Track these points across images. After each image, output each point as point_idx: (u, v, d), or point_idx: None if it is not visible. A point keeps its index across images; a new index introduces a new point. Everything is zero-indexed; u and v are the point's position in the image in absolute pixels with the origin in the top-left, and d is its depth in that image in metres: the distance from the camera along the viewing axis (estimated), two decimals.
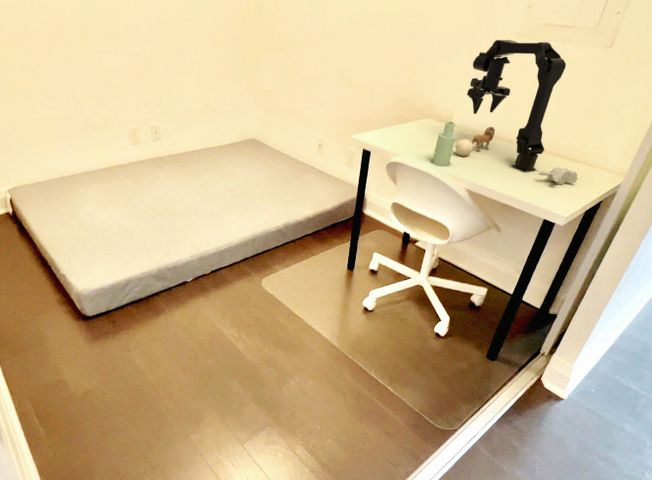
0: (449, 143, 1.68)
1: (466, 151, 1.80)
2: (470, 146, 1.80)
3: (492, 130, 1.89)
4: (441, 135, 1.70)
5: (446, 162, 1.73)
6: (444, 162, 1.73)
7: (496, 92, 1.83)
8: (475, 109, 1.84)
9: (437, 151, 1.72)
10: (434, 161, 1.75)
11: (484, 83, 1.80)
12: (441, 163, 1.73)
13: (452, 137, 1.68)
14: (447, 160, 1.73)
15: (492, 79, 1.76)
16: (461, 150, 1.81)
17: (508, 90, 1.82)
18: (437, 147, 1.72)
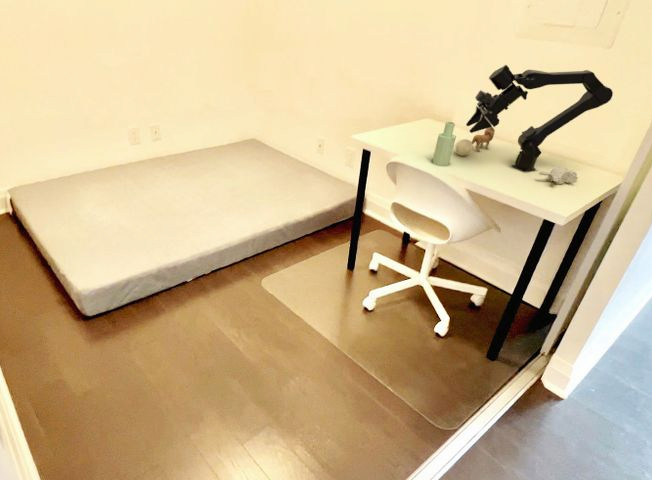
0: (449, 143, 1.68)
1: (466, 151, 1.80)
2: (470, 146, 1.80)
3: (492, 130, 1.89)
4: (441, 135, 1.70)
5: (446, 162, 1.73)
6: (444, 162, 1.73)
7: None
8: (474, 129, 1.65)
9: (437, 151, 1.72)
10: (434, 161, 1.75)
11: (495, 105, 1.61)
12: (441, 163, 1.73)
13: (452, 137, 1.68)
14: (447, 160, 1.73)
15: (505, 108, 1.61)
16: (461, 150, 1.81)
17: None
18: (437, 147, 1.72)
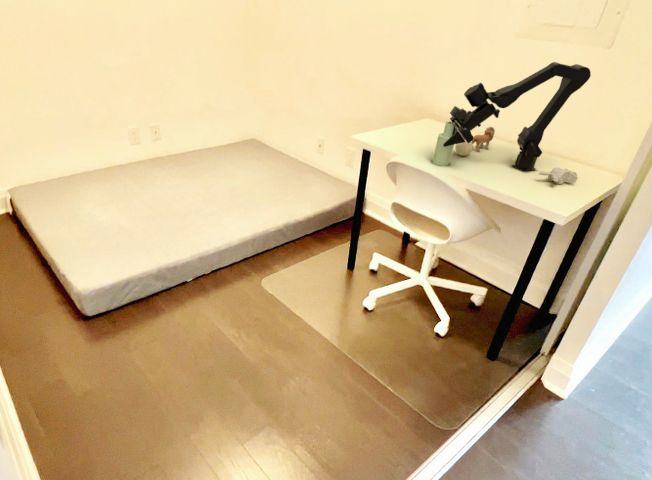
0: None
1: (466, 151, 1.80)
2: (470, 146, 1.80)
3: (492, 130, 1.89)
4: (441, 135, 1.70)
5: (446, 162, 1.73)
6: (444, 162, 1.73)
7: None
8: (448, 143, 1.68)
9: (437, 151, 1.72)
10: (434, 161, 1.75)
11: (469, 122, 1.64)
12: (441, 163, 1.73)
13: None
14: (447, 160, 1.73)
15: (478, 124, 1.64)
16: (461, 150, 1.81)
17: None
18: (437, 147, 1.72)
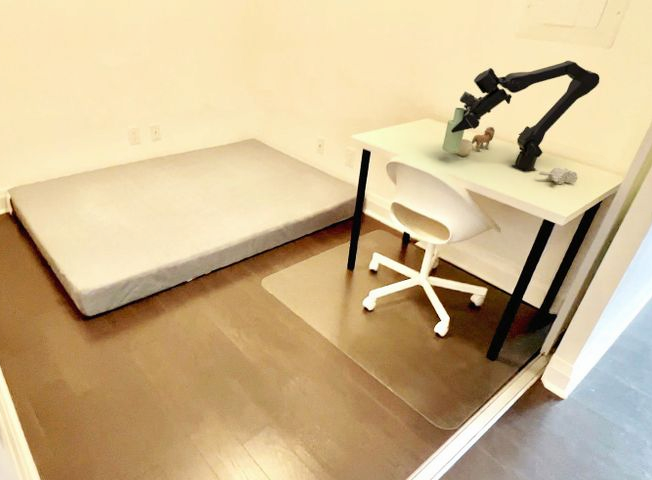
0: None
1: (466, 151, 1.80)
2: (470, 146, 1.80)
3: (492, 130, 1.89)
4: (450, 121, 1.69)
5: (455, 149, 1.71)
6: (453, 149, 1.71)
7: None
8: (456, 129, 1.66)
9: (446, 137, 1.71)
10: (443, 148, 1.74)
11: (477, 107, 1.61)
12: (450, 150, 1.72)
13: None
14: (456, 147, 1.71)
15: (488, 110, 1.61)
16: (461, 150, 1.81)
17: None
18: (446, 133, 1.71)
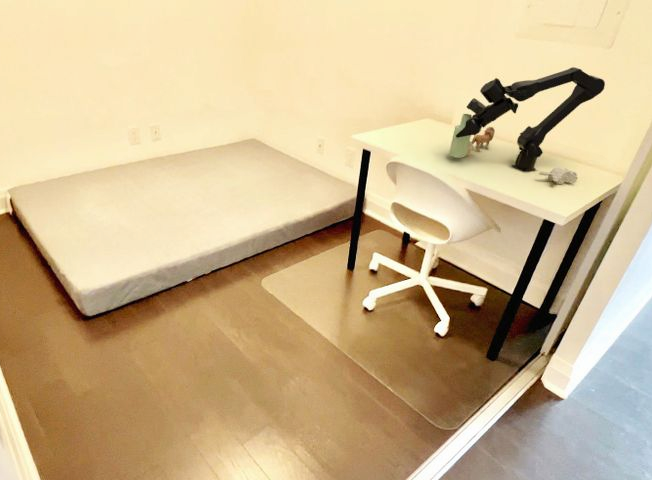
0: None
1: None
2: (470, 146, 1.80)
3: (492, 130, 1.89)
4: (458, 126, 1.73)
5: (459, 154, 1.74)
6: (457, 154, 1.75)
7: None
8: (460, 135, 1.70)
9: (452, 142, 1.75)
10: (449, 152, 1.78)
11: (483, 115, 1.64)
12: (454, 154, 1.75)
13: None
14: (460, 152, 1.74)
15: (493, 119, 1.62)
16: None
17: None
18: (452, 138, 1.75)
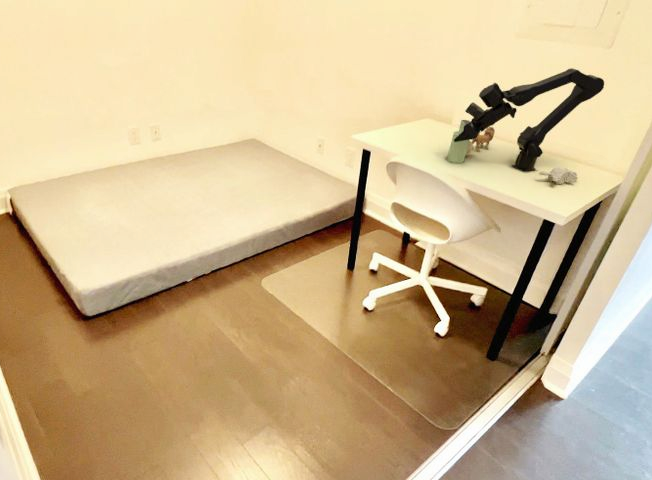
0: None
1: (466, 151, 1.80)
2: (470, 146, 1.80)
3: (492, 130, 1.89)
4: (456, 132, 1.74)
5: (457, 159, 1.76)
6: (455, 159, 1.76)
7: None
8: (458, 139, 1.70)
9: (450, 147, 1.76)
10: (447, 157, 1.79)
11: (481, 119, 1.64)
12: (452, 160, 1.77)
13: None
14: (458, 158, 1.75)
15: (491, 123, 1.63)
16: None
17: None
18: (451, 143, 1.76)
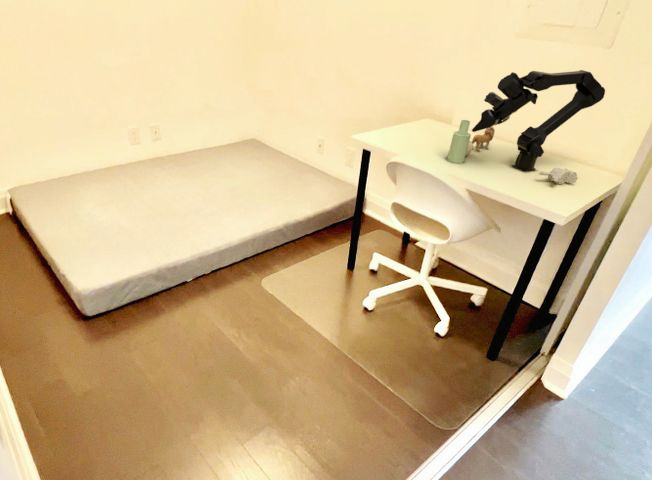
0: (461, 140, 1.71)
1: (466, 151, 1.80)
2: (470, 146, 1.80)
3: (492, 130, 1.89)
4: (456, 132, 1.74)
5: (457, 159, 1.76)
6: (455, 159, 1.76)
7: None
8: (476, 128, 1.66)
9: (450, 147, 1.76)
10: (447, 157, 1.79)
11: (500, 107, 1.60)
12: (452, 160, 1.77)
13: (465, 135, 1.71)
14: (458, 158, 1.75)
15: (511, 111, 1.58)
16: None
17: (508, 118, 1.69)
18: (451, 143, 1.76)
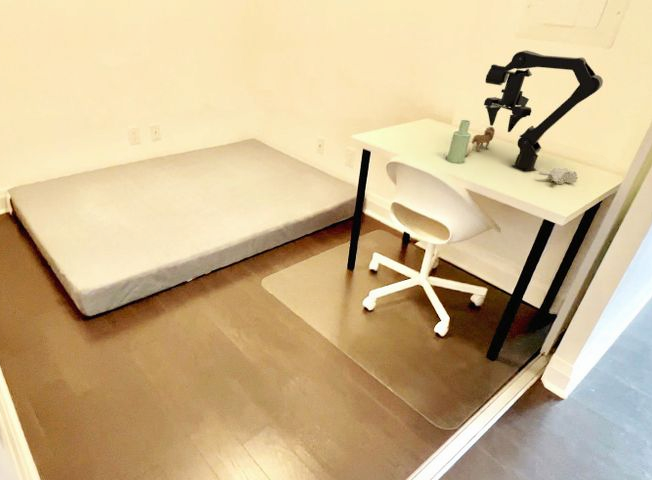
0: (461, 140, 1.71)
1: (466, 151, 1.80)
2: (470, 146, 1.80)
3: (492, 130, 1.89)
4: (456, 132, 1.74)
5: (457, 159, 1.76)
6: (455, 159, 1.76)
7: None
8: None
9: (450, 147, 1.76)
10: (447, 157, 1.79)
11: None
12: (452, 160, 1.77)
13: (465, 135, 1.71)
14: (458, 158, 1.75)
15: None
16: None
17: (518, 109, 1.61)
18: (451, 143, 1.76)
